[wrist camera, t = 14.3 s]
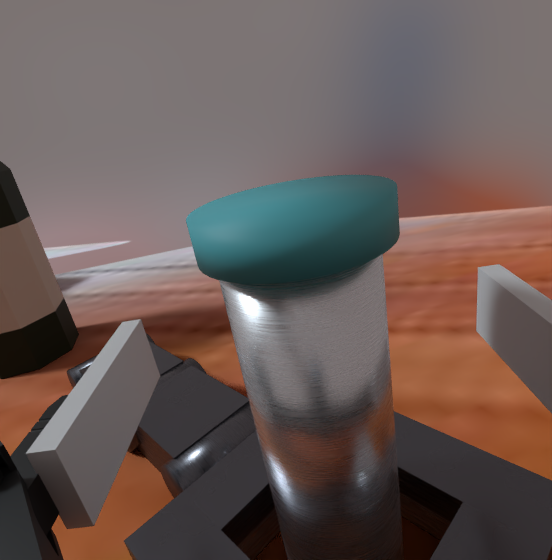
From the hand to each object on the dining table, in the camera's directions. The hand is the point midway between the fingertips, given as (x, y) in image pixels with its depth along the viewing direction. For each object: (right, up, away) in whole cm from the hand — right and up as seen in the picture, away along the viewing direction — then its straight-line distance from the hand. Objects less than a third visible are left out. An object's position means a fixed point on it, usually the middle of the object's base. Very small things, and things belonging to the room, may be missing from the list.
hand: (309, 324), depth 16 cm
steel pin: (+2, -10, +1) cm, 10 cm away
